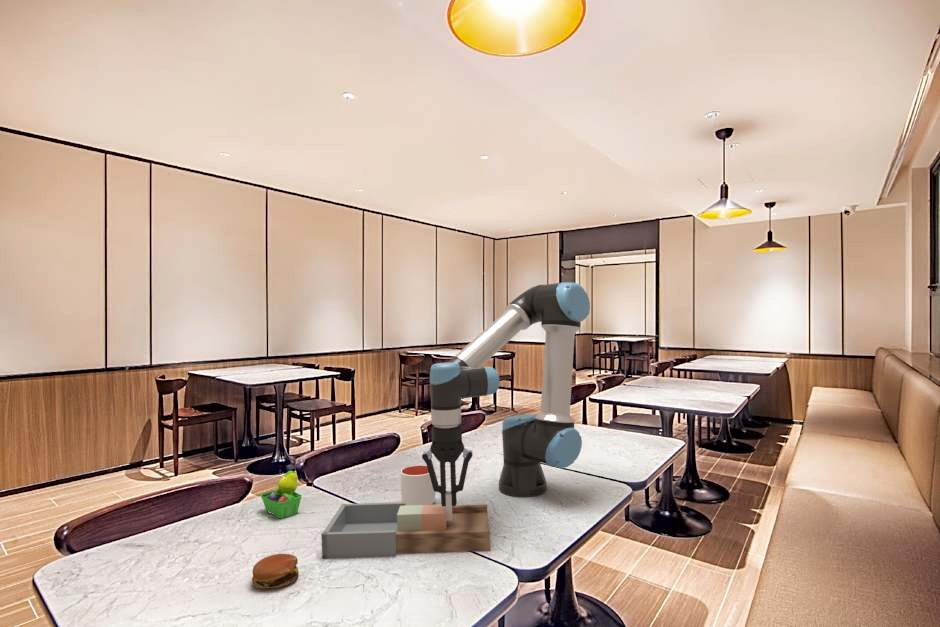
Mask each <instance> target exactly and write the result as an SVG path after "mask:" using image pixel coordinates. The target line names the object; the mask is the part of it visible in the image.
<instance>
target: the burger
mask: <svg viewBox="0 0 940 627" xmlns="http://www.w3.org/2000/svg"><path fill="white" fill-rule="evenodd" d="M297 565H298V558H297V556H295V555H293V554H290V553H277V554H276V553H275V554H272V555H268V556H266V557H264V558H262V559H260V560H259V561H257V562H256V563H255V564H254V566H253V568H252V577H251V581H252V586H253V587H254V588H256V589H267V590H268V589H271V590H274V589H275V590H276V589H278V588H281V587H284V586H288V585H290V584H291V583H293V582H294V581H295V580H296V579H298V578H299V574H300V572H299V568H298V566H297Z"/></svg>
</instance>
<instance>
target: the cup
mask: <svg viewBox="0 0 940 627" xmlns="http://www.w3.org/2000/svg"><path fill="white" fill-rule="evenodd" d="M400 490H401V491H400V492H401V493H400V494H401V502H406V506H408V505H434V503H435V501H436V492H435V491H434V490H433V486H432V482H431V479H430V475H429V472H428V468H427V465H421V464H420V465H411V466H407V467H404V468H402V469H401V471H400Z"/></svg>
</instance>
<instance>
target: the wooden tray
mask: <svg viewBox="0 0 940 627" xmlns="http://www.w3.org/2000/svg"><path fill="white" fill-rule="evenodd" d="M488 511H489V510H488V504H467V505H464V504H463V505H461V504H460V505H458V504H457V505H456V506H452V521H447V528H446V530H415V531H399V532H397V534H396V545H397V555H398V554H424V553H425V554H426V553H427V554H428V553H429V554H430V553H433V554H434V553H457V552H458V553H461V552H463V553H464V552H488V551H489V552H490V551H491V533H490V532H491V531H490V523H489V514H488V513H489V512H488Z"/></svg>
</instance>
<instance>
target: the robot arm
mask: <svg viewBox="0 0 940 627" xmlns="http://www.w3.org/2000/svg"><path fill="white" fill-rule="evenodd" d="M590 310H591V302H590V298H589V295H588V293H587V292H586V290H585V288H584V287H583V286H582V285H580V284H578V283H577V282H566V281H563V282H556V283H549V284H538V285H535V286H532V287H531V288H528V289H527V290H525V291H524V292H522V293H521V294H520V295H518V296H517V297H516V298H514V299H513V300H512V301H511V302H509V303H508V304H507V305H506V307H505V308H504V312H503V313H502V314H501V315H500V316H499V317H498V318H496V319H495V320H494V321H493V322H492V323H491V324H489V325H488V326H487V327H486V328H485V329H484V330H483V331H481V332H480V333H479V334H478V335H477V336H476V337H475V338H474V339H472V340H471V341H470V342H469V343H468V344H467V345H466V346H464V347H463V348H462V349H461V350H460V351H459V352H458V353H457V354H456V355H454V356H453V357H452V358H451V359H450V360H449V361H447V362H438V363H434V364H432V365H431V367H430V372H429V384H430V385H429V386H430V387H429V388H430V389H429V390H430V408H431V409H430V414H431V416H430V418H431V420H430V422H431V424H432V427H431V445H430V449H428V450H426V451H424V452H422V455H421V458H422V460H423V461H424V463H425V464H426V466H427V468H428V472H429V475H430V479H431V482H432V486H433V490H434V491H435V493H437V492H438V493H439V494H440V501H441V502H440V505H442V506H446V521H452V506H457V493H459V492H462V491H463V490H464V486H465V481H466V476H467V473H468V467H469V463H470V461H471V459H472V457H473V456H474V454H473V451H472V449H470V450H469V449H467V448H465V445H464V443H463V434H462V431H463V430H462V428H463V427H462V425H461V424H462V400H464V399H468V398H469V399H471V398H477V397H487V396H488V395H493V394H495V393H497V391H498V390H499V388H500V376H499V373H498V372H497V370H496V369H495V368H494V367H491V366H483V365H485V364H486V363H487V362H488V361H489V360H490V359H491V358H492V357H493V356H495V354H497V353H498V352H499V351H500V350H501V349H502V348H504V346H505V345H507V343H509V342H510V340H512V339H513V338H514V337H516V335H517V334H518V333H520V331H525V330H528V328H530V326H532V325H534V324H536V323H540V322H541V324H540V327H541V328H542V329H543V330H544V331H545V341H544V354H543V355H544V356H543V369H542V385H541V399H540V400H541V401H540V411H539V413H538V414H532V413H531V414H529V413H528V414H518V415H513V416H507V417H505V418H504V419H502V420H503V421H502V430H501V434H502V436H501V437H502V453H503V454H502V456H503V466H502V469H501V473H500V476H499V480H498V490H499V492H501V493H502V494H504V495H506V496H507V495H508V496H511V497H521V498H522V497H525V498H526V497H535V496H539V495H542V494H544V493H546V491H547V490H548V486H547V485H548V482H547V479H546V476H545V474H544V470H543V468H542V465H541V463H542V464H545V465H548V466H550V467H553V468H554V467H557V468H561V469H562V468H563V469H565V468H567V467H570V466H571V465H572V464H574V463H575V461H576V460H577V459H578V458H579V456H580V453H581V451H582V446H583V441H582V440H583V439H582V436H581V435H580V432H579V431H578V430H577V429H576V428H575V420H574V418H573V417H572V416H571V414H570V413H571V397H572V385H573V384H572V383H573V380H572V379H573V366H574V365H573V364H574V353H575V350H574V349H575V335H576V333H577V332H579V330H581V323H582V322H583V321H584V320H586V319H587V317H588V316H589V314H590ZM461 455H462V458H463V461H462V466H461V471H460V474H459V475H460V477H459V481H458V484H457V477H456V476H457V474H456V471H457V470H456V461H457V460H458V459H459V457H460V456H461ZM433 456H434V457H435V458H436V460H437V461H438V462H439V472H440V475H439V476H440V484H439V481H438V478H437V474H436V471H435V466H434V463H433V460H432V459H433ZM446 463H449V465H450V466H449V468H450V490H447V482H446V481H447V479H446V477H447V476H446V473H447V472H446Z"/></svg>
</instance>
